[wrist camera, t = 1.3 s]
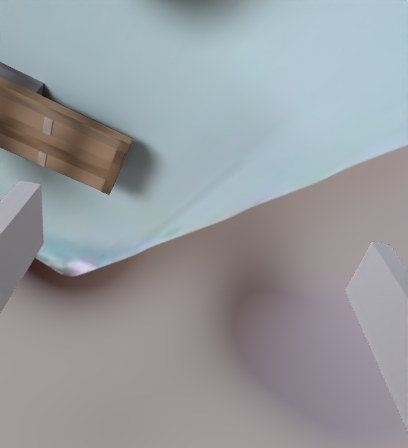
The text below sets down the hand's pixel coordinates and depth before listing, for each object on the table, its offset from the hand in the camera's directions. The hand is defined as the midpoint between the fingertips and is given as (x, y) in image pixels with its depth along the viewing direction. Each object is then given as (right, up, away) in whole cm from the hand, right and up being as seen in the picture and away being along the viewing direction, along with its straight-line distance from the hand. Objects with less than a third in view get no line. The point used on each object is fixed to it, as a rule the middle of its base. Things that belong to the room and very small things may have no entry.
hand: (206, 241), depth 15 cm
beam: (-21, +14, +26) cm, 36 cm away
